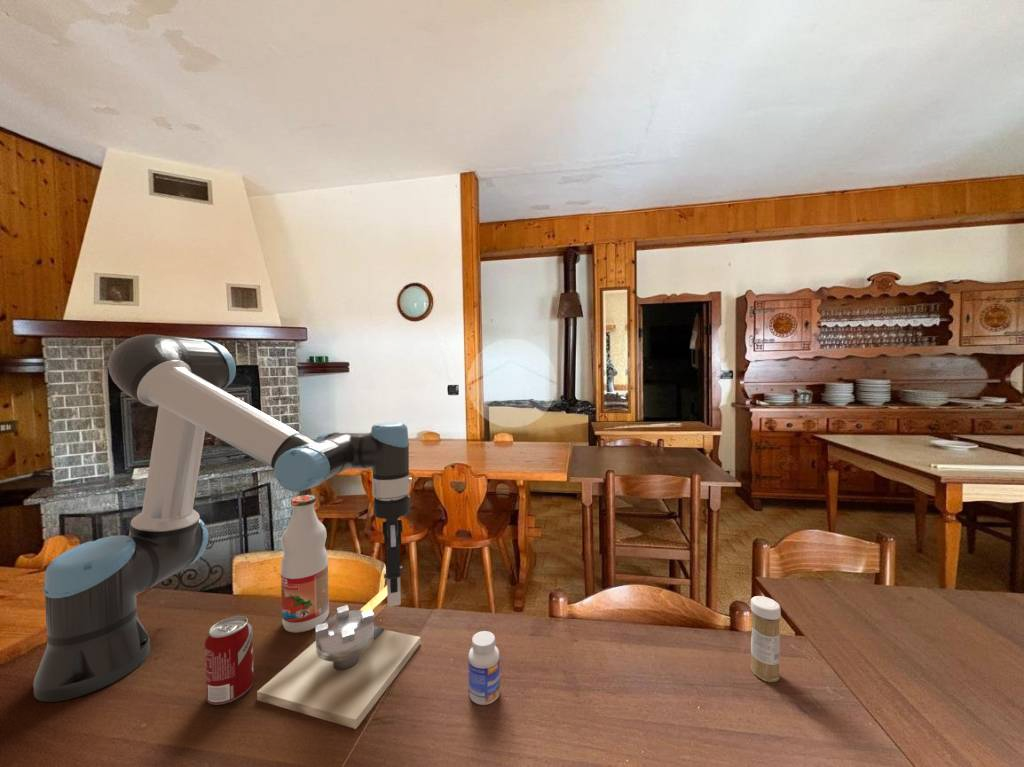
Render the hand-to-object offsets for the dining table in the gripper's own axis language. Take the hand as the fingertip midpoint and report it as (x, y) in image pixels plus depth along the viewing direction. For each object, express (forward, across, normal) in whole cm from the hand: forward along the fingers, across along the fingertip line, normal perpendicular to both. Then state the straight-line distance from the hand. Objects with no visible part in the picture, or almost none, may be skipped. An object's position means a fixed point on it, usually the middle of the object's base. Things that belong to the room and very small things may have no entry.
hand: (394, 603), depth 85 cm
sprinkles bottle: (+7, -35, -64) cm, 73 cm away
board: (+6, -8, +9) cm, 14 cm away
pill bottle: (+7, -22, -14) cm, 27 cm away
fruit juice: (+6, +11, +19) cm, 23 cm away
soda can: (+6, -7, +28) cm, 30 cm away
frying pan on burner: (+1, -4, +6) cm, 7 cm away
